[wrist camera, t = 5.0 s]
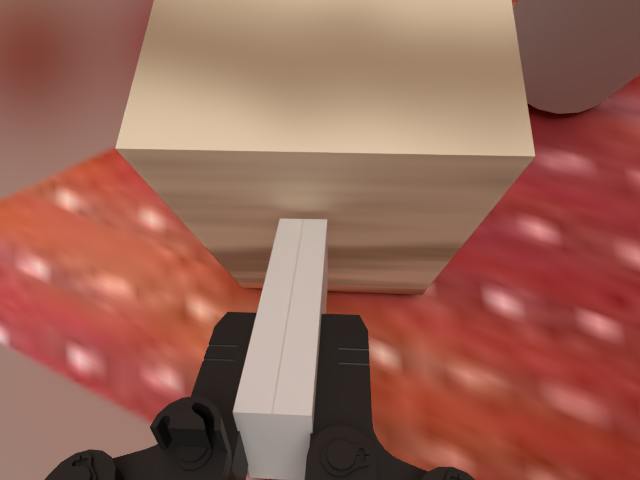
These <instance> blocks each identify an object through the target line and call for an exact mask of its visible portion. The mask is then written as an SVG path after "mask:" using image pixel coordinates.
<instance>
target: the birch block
mask: <svg viewBox="0 0 640 480" xmlns="http://www.w3.org/2000/svg"><path fill="white" fill-rule="evenodd" d="M115 149H116V150H117V151H118V152H119V153H120V154H121V155H122V156H123V157H124V159H125V160H126V161H127V162H128V163H129V164H130V165H131V166H132V167H133V168H134V169H135V171H136V172H137V173H138V174H139V175H140V176H141V177H142V178H143V179H144V180H145V182H146V183H147V184H148V185H149V186H150V187H151V188H152V189H153V190H154V191H155V192H156V194H157V195H158V196H159V197H160V198H161V199H162V200H163V201H164V202H165V203H166V205H167V206H168V207H169V208H170V209H171V210H172V211H173V212H174V213H175V214H176V215H177V217H178V218H179V219H180V220H181V221H182V222H183V223H184V224H185V225H186V226H187V228H188V229H189V230H190V231H191V232H192V233H193V234H194V235H195V236H196V237H197V238H198V240H199V241H200V242H201V243H202V244H203V245H204V246H205V247H206V248H207V249H208V250H209V252H210V253H211V254H212V255H213V256H214V257H215V258H216V259H217V260H218V261H219V263H220V264H221V265H222V266H223V267H224V268H225V269H226V270H227V271H228V272H229V273H230V275H231V276H232V277H233V278H234V279H235V280H236V281H237V282H238V283H239V284H240V286H241V287H242V288H263V286H264V282H265V278H266V274H267V269H268V265H269V261H270V257H271V253H272V249H273V245H274V241H275V237H276V233H277V228H278V224H279V220H280V219H327V253H328V288H327V291H342V292H367V293H393V294H419V295H422V294H423V293H424V292H425V291H426V289H427V288H428V287H429V286H430V284H431V283H432V282H433V281H434V280H435V278H436V277H437V276H438V275H439V273H440V272H441V271H442V270H443V269H444V267H445V266H446V265H447V264H448V262H449V261H450V260H451V259H452V258H453V256H454V255H455V254H456V253H457V251H458V250H459V249H460V248H461V247H462V245H463V244H464V243H465V242H466V240H467V239H468V238H469V237H470V236H471V234H472V233H473V232H474V231H475V229H476V228H477V227H478V226H479V225H480V223H481V222H482V221H483V220H484V218H485V217H486V216H487V215H488V214H489V212H490V211H491V210H492V209H493V207H494V206H495V205H496V204H497V203H498V201H499V200H500V199H501V198H502V196H503V195H504V194H505V193H506V192H507V190H508V189H509V188H510V187H511V185H512V184H513V183H514V182H515V181H516V179H517V178H518V177H519V176H520V174H521V173H522V172H523V171H524V170H525V168H526V167H527V166H528V165H529V163H530V162H531V161H532V160H533V159H534V157H535V151H534V144H533V138H532V131H531V125H530V118H529V112H528V105H527V99H526V92H525V85H524V79H523V72H522V66H521V59H520V53H519V46H518V40H517V33H516V26H515V20H514V13H513V7H512V0H154V4H153V7H152V11H151V15H150V18H149V22H148V26H147V30H146V34H145V38H144V42H143V45H142V49H141V53H140V56H139V60H138V64H137V68H136V72H135V76H134V79H133V83H132V87H131V91H130V95H129V98H128V103H127V106H126V110H125V114H124V118H123V121H122V126H121V129H120V133H119V137H118V140H117V144H116V148H115Z"/></svg>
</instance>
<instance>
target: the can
mask: <svg viewBox="0 0 640 480" xmlns="http://www.w3.org/2000/svg"><path fill="white" fill-rule="evenodd" d="M513 13H514V20H515V26H516V33H517V40H518V46H519V53H520V59H521V66H522V72H523V79H524V85H525V92H526V99H527V103H528V104H530V105H531V106H533V107H535V108H537V109H540V110H544V111H548V112H552V113H557V114H562V113H579V112H582V111H584V110H587V109H590V108H593V107H595V106H598V105H599V104H601V103H602V102H603V101H605V100H606V99H607V98H609V97H610V96H611V95H613V94H614V93H615V92H617V91H618V90H619V89H621V88H622V87H623V86H625V85H626V84H627V83H629V82H630V81H631V80H633V79H634V78H635V77H637V76H638V75H639V74H640V0H518V2H517V3H516V5H515V7H514V8H513Z"/></svg>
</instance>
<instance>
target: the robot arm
mask: <svg viewBox="0 0 640 480" xmlns="http://www.w3.org/2000/svg"><path fill="white" fill-rule="evenodd" d="M327 288H328V253H327V219H280V220H279V224H278V228H277V233H276V237H275V241H274V245H273V249H272V253H271V257H270V261H269V265H268V269H267V274H266V278H265V282H264V286H263V290H262V294H261V298H260V302H259V306H258V310H257V313H243V312H227V313H226V314H225V315H224V317H223V318H222V319H221V320H220V321H219V322H218V323H217V325H216V326H215V327H214V330H213V333H212V336H211V339H210V342H209V347H208V348H207V351H206V354H205V357H204V361H203V362H202V365H201V368H200V371H199V374H198V377H197V380H196V383H195V386H194V389H193V392H192V395H191V397H186V398H181V399H179V400H177V401H175V402H173V403H171V404H169V405H168V406H166V407H165V408H164V409H163V410H162V411H161V412H160V413H159V414H158V415H157V416H156V418H155V419H154V421H153V423H152V424H151V426H150V428H151V430H152V432H153V434H154V436H155V438H156V440H157V442H158V444H157V445H155V446H153V447H150V448H148V449H145V450H141V451H138V452H134V453H131V454H127V455H123V456H120V457H116V458H113V459H112V457H111V456H109V455H108V454H106V453H105V452H103V451H100V450H87V451H83V452H79V453H76V454H74V455H72V456H71V457H69V458H67V459H66V460H64V461H62V462H61V463H60V464H59V465H58V466H57V467H56V468H55V469H54V470H53V471H52V472H51V473H50V474H49V475H48V476H47V478H46V479H45V480H246V475H247V469H248V472H249V476H250V478H262V479H280V480H475V479H474V478H473V477H471V476H470V475H469V474H468V473H466V472H464V471H461V470H459V469H456V468H454V467H437V468H435V469H433V470H431V471H429V472H427V471H425V470H422V469H420V468H417V467H415V466H412V465H410V464H408V463H405V462H403V461H401V460H399V459H397V458H395V457H393V456H392V455H391V454H390V453H389V452H387V451H386V450H385V449H384V448H383V446H382V445H381V444H380V442H379V441H378V440H377V437H376V435H375V433H374V430H373V424H372V411H371V389H370V367H369V344H368V330H367V328H366V326H365V324H364V323H363V321H362V319H361V317H360V315H342V314H326V303H327Z"/></svg>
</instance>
